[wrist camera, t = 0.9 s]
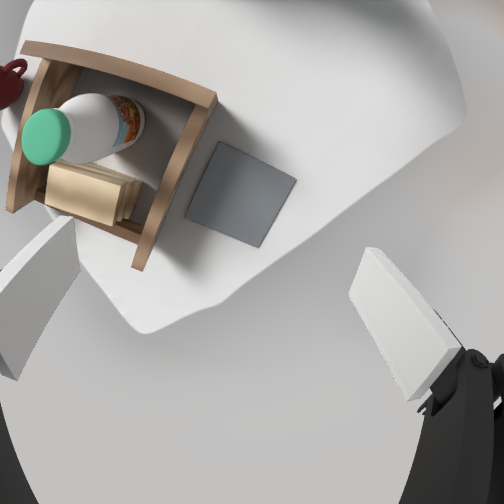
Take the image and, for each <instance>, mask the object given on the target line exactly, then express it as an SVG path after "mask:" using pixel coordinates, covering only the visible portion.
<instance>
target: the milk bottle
mask: <svg viewBox="0 0 504 504" xmlns="http://www.w3.org/2000/svg"><path fill="white" fill-rule="evenodd" d="M144 124H145V117H144V112H143V110H142V108H141V106H140V105H139V104H138V103H137V102H136V101H135V100H133V99H131V98H129V97H124V96H118V95H110V94H99V93H89V94H83V95H79V96H76V97H74V98H72V99H70V100H68V101H67V102H65V103H64V104H63V105H62V106H61V107H60V108H53V109H42V110H39V111H37V112H36V113H34V114H33V115H32V116H31V117H30V118H29V119H28V120H27V122H26V124H25V126H24V129H23V132H22V148H23V152H24V154H25V156H26V157H27V159H28V160H29V161H30V162H31V163H33V164H35V165H47V164H50V163H52V162H54V161H57V160H60V159H63V160H65V161H67V162H71V163H76V164H83V163H89V162H93V161H96V160H99V159H101V158H104V157H106V156H109V155H111V154H114V153H116V152H118V151H121V150H123V149H126V148H127V147H129V146H131V145H133V144H134V143H135V142H136V141H137V140H138V139H139V137H140V136H141V134H142V132H143V129H144Z"/></svg>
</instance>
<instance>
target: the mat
mask: <svg viewBox="0 0 504 504" xmlns="http://www.w3.org/2000/svg"><path fill="white" fill-rule="evenodd" d="M295 181H296V179H295V178H293V177H291V176H290V175H288V174H286V173H284V172H282V171H280V170H278V169H276V168H274V167H272V166H270V165H268V164H266V163H264V162H262V161H260V160H258V159H256V158H254V157H252V156H250V155H247V154H245V153H243V152H241V151H239V150H237V149H235V148H232V147H230V146H228V145H226V144H224V143H221V142H219V144H218V146H217V148H216V150H215V152H214V154H213V156H212V158H211V161H210V163H209V165H208V167H207V169H206V171H205V173H204V175H203V177H202V180H201V182H200V184H199V186H198V188H197V191H196V193H195V195H194V197H193V199H192V202H191V204H190V206H189V208H188V211H187V213H186V215H185V218H187V219H189V220H191V221H194V222H196V223H199V224H201V225H204V226H206V227H208V228H211V229H213V230H216V231H218V232H221V233H223V234H225V235H228V236H230V237H233V238H235V239H237V240H240V241H242V242H245V243H247V244H249V245H252V246H254V247H257V248H258V246H259V245H260V243H261V241H262V239H263V238H264V236H265V234H266V232H267V230H268V229H269V227H270V225H271V223H272V222H273V220H274V218H275V216H276V215H277V213H278V211H279V209H280V207H281V206H282V204H283V202H284V200H285V199H286V197H287V195H288V193H289V191H290V190H291V188H292V186H293V184H294V183H295Z"/></svg>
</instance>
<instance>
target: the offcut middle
mask: <svg viewBox="0 0 504 504" xmlns="http://www.w3.org/2000/svg"><path fill="white" fill-rule="evenodd" d="M58 161H60V162H63V163H67V164H70V165H74V166H77V167H81V168H84V169H88V170H91V171H95V172H98V173H101V174H105V175H108V176H111V177H115V178H118V179H121V180H124V181H127V183H126V187H125V191H124V195H123V199H122V203H121V208H120V212H119V217H118V220H117V221H119V222H121V220H122V219H123V218H124V217H125V215H126V211H127V207H128V204H129V200H130V196H131V192H132V189H133V185H134V182H135V179H131V178H128V177H125V176H122V175H119V174H116V173H113V172H110V171H107V170H103V169H100V168H97V167H94V166H91V165H87V164H84V163H83V164H76V163H71V162H67V161H65V160H63V159H60V160H57V161H56V162H58Z"/></svg>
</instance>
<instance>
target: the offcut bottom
mask: <svg viewBox="0 0 504 504" xmlns="http://www.w3.org/2000/svg"><path fill="white" fill-rule="evenodd" d="M84 164H87V165H91V166H94V167H97V168H100V169H103V170H107V171H110V172H113V173H116V174H119V175H122V176H125V177H128V178H131V179H135V182H134V185H133V189H132V192H131V196H130V200H129V204H128V207H127V211H126V215H125V217H124V218H126V219H129V218H130V217H131V215H132V213H133V210H134V207H135V203H136V200H137V197H138V194H139V191H140V187H141V184H142V181H141V180H139V179H136V178H133V177H130V176H128V175H125V174H122V173H119V172H116V171H114V170H111V169H108V168H105V167H102V166H99V165H96V164H94V163H91V162H89V163H84Z"/></svg>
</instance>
